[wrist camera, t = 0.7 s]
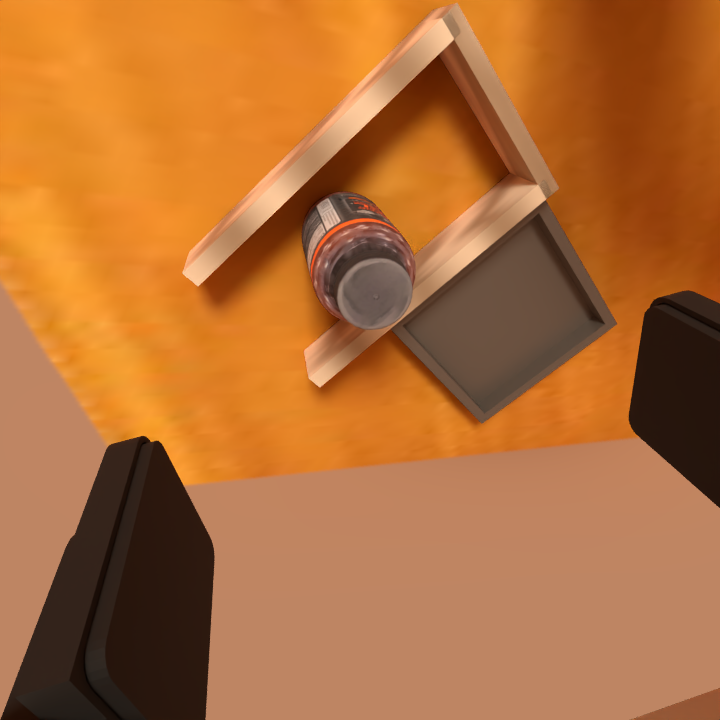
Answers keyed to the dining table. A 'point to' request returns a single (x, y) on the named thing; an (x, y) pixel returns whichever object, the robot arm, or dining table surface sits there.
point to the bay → (427, 40)
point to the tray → (508, 316)
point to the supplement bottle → (358, 261)
